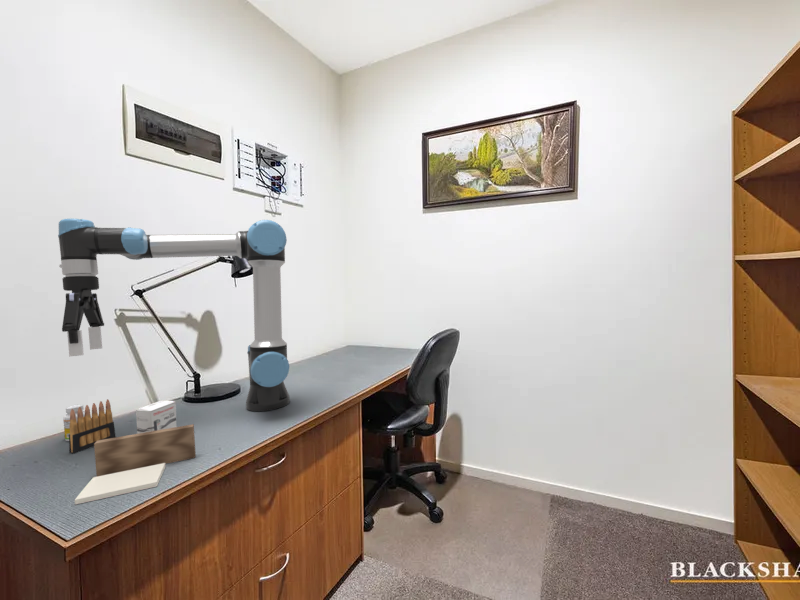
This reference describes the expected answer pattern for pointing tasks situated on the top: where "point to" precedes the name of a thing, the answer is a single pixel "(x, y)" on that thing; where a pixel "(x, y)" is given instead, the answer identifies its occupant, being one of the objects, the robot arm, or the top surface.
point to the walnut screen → (144, 449)
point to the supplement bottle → (67, 418)
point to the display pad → (121, 483)
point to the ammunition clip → (90, 427)
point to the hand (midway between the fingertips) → (87, 352)
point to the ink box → (156, 416)
